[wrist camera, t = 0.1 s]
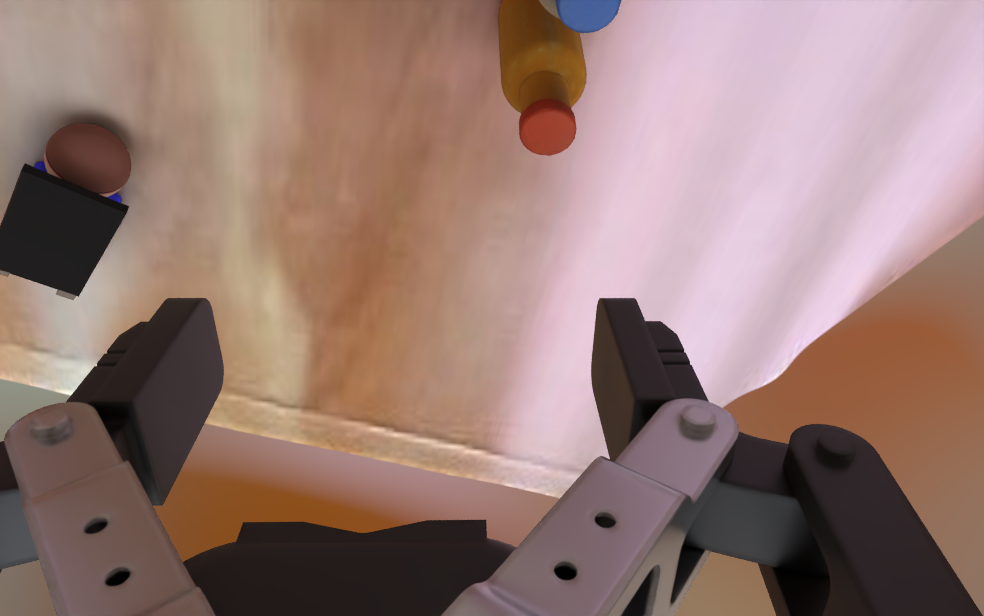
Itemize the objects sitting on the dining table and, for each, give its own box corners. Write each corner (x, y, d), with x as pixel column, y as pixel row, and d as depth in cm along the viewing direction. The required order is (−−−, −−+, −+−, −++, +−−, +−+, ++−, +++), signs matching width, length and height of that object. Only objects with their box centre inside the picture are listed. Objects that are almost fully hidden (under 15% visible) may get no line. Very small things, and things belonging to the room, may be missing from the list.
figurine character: (107, 244, 59) (163, 139, 49) (72, 322, 55) (125, 224, 45) (16, 208, 56) (56, 88, 46) (-28, 288, 51) (5, 174, 41)
